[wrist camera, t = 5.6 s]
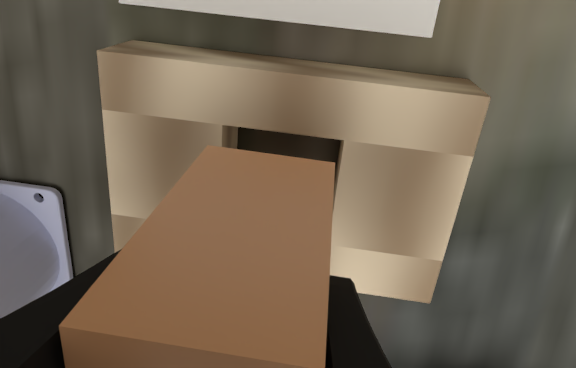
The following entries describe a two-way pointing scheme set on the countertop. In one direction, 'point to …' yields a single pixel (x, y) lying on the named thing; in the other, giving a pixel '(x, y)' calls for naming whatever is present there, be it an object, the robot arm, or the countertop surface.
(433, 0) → the mat
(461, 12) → the countertop surface
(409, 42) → the countertop surface
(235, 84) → the beige holed block
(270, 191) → the plug
